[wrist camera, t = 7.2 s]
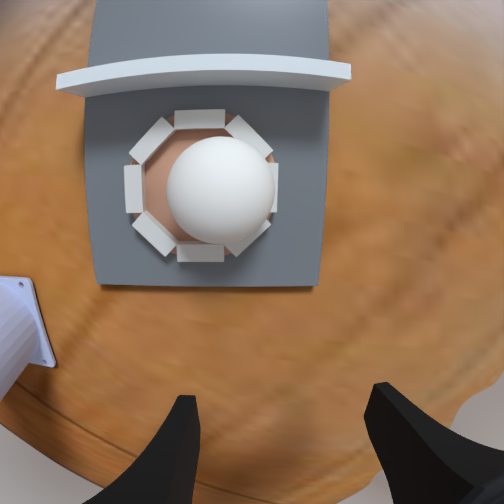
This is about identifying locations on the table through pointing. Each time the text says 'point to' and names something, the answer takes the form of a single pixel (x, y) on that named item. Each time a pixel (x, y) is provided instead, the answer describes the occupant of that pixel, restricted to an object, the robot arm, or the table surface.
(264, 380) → the table surface
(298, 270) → the board
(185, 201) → the ball
